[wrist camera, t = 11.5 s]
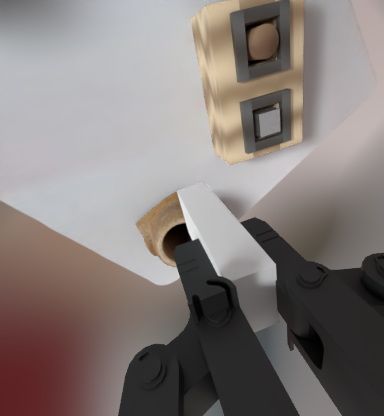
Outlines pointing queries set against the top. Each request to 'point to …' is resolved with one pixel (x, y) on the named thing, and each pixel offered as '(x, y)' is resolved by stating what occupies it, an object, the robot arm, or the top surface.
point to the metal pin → (266, 121)
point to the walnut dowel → (261, 42)
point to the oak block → (250, 74)
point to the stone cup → (164, 229)
